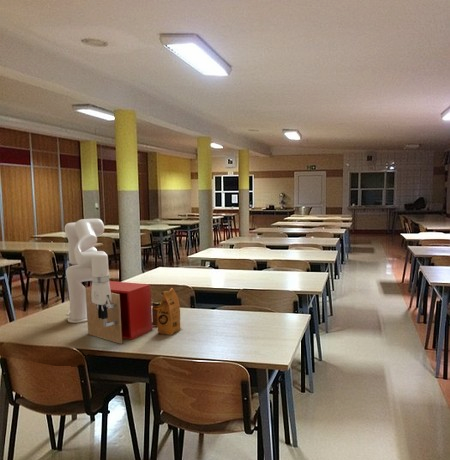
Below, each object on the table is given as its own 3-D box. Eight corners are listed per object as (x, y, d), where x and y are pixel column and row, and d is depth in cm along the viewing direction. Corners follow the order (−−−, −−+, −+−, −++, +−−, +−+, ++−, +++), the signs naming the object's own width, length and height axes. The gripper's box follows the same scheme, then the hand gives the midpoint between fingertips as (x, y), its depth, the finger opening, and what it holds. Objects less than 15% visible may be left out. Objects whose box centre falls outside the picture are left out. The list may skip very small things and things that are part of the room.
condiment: (166, 324, 266) (165, 302, 264) (152, 327, 261) (151, 305, 259) (160, 321, 272) (159, 300, 270) (146, 324, 267) (145, 302, 266)
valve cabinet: (131, 339, 240) (129, 291, 236) (89, 333, 251) (87, 287, 248) (152, 329, 256) (150, 284, 252) (112, 324, 267) (110, 280, 264)
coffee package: (154, 333, 249) (152, 291, 246) (167, 327, 260) (165, 286, 257) (171, 335, 245) (169, 293, 242) (183, 329, 256) (182, 288, 253)
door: (108, 347, 228) (106, 297, 225) (76, 337, 245) (73, 290, 242) (122, 343, 234) (119, 294, 231) (89, 333, 251) (86, 287, 248)
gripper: (84, 279, 229) (86, 317, 231) (103, 282, 218) (105, 322, 220) (98, 276, 234) (100, 314, 236) (117, 280, 223) (119, 319, 226)
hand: (103, 318), depth 228 cm, fingers closed on door
